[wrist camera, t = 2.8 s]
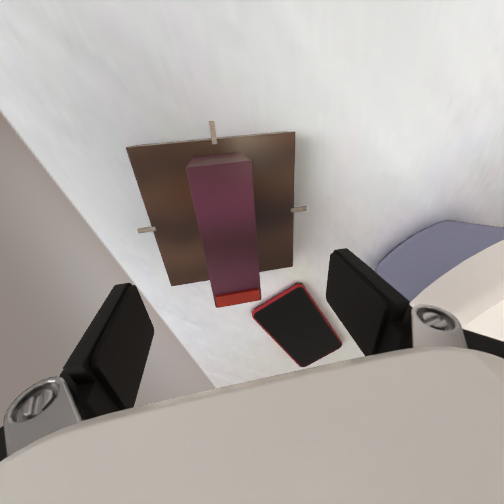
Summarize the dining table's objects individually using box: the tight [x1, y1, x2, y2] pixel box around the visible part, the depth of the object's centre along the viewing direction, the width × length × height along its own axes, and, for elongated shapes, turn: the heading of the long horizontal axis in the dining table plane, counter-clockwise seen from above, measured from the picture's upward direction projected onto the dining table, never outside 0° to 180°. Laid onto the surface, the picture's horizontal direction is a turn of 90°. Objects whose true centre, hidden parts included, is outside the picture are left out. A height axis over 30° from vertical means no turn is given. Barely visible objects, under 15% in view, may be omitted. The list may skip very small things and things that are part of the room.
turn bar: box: [186, 152, 261, 308], centre depth 16 cm, size 10×4×5 cm, turn 5°
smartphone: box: [252, 284, 342, 367], centre depth 30 cm, size 7×1×15 cm
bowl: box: [376, 220, 504, 341], centre depth 24 cm, size 15×15×11 cm
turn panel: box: [126, 121, 307, 286], centre depth 20 cm, size 14×14×3 cm
